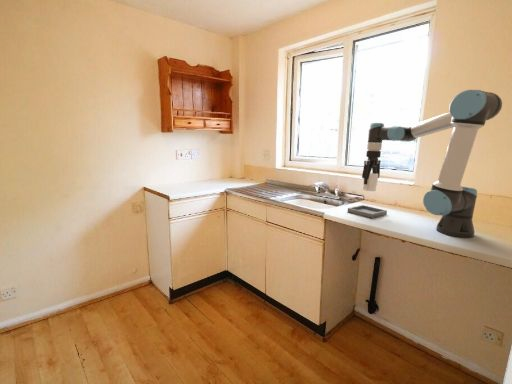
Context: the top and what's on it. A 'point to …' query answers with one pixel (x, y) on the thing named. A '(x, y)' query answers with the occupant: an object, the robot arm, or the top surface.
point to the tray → (367, 211)
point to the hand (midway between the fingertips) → (369, 189)
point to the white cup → (372, 182)
